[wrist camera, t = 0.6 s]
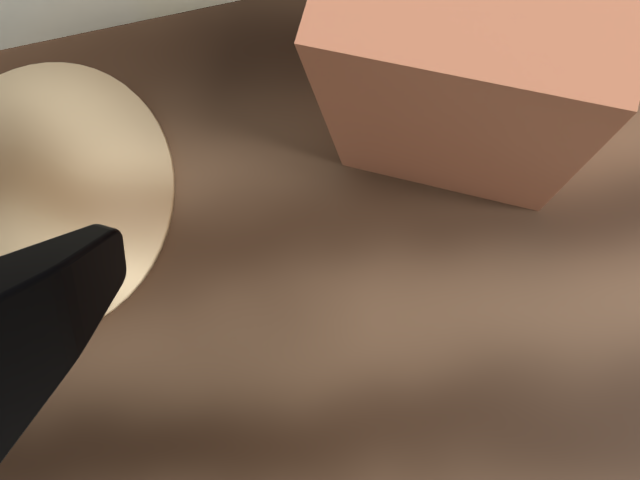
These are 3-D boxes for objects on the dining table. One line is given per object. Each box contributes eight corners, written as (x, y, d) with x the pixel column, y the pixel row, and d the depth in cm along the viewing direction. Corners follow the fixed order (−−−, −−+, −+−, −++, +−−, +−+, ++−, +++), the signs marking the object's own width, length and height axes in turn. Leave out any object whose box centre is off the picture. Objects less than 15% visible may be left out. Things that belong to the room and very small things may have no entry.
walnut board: (707, 469, 20) (810, 514, 15) (-67, 546, 23) (-200, 604, 18) (592, -26, 23) (643, -129, 18) (-73, 106, 26) (-188, 51, 21)
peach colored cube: (538, 211, 19) (637, 112, 11) (342, 165, 20) (294, 43, 12) (583, 24, 20) (709, -206, 11) (392, -10, 21) (379, -240, 13)
